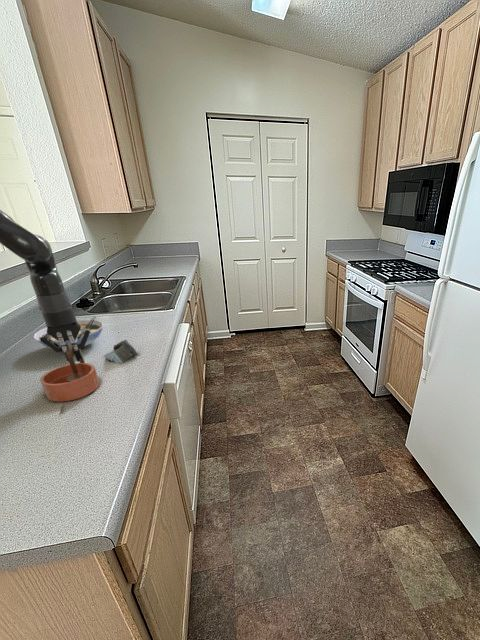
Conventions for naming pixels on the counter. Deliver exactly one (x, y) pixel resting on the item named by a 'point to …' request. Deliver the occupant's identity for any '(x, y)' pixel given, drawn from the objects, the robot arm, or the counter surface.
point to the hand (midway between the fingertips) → (75, 361)
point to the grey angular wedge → (122, 352)
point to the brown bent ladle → (73, 364)
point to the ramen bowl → (92, 324)
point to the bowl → (72, 390)
